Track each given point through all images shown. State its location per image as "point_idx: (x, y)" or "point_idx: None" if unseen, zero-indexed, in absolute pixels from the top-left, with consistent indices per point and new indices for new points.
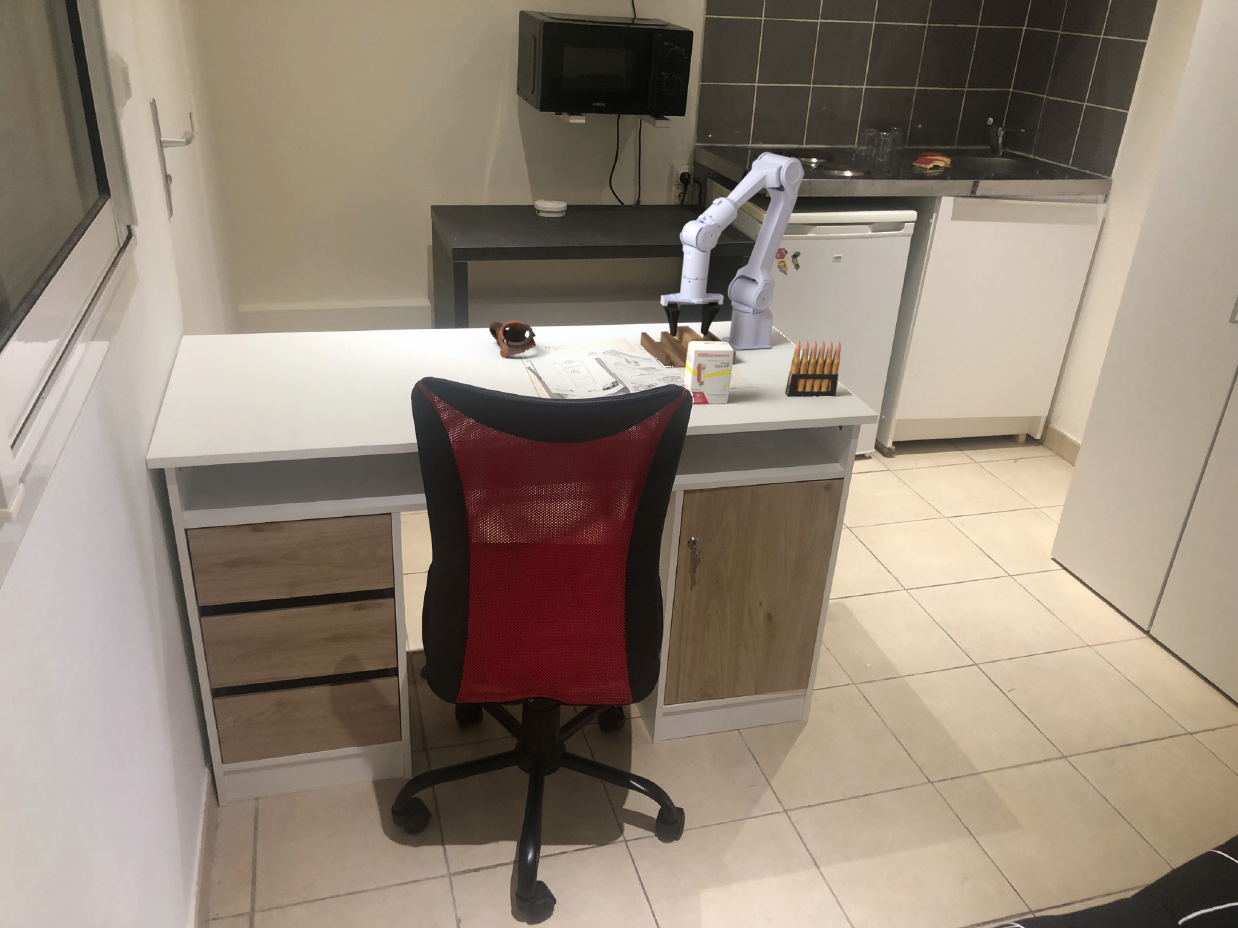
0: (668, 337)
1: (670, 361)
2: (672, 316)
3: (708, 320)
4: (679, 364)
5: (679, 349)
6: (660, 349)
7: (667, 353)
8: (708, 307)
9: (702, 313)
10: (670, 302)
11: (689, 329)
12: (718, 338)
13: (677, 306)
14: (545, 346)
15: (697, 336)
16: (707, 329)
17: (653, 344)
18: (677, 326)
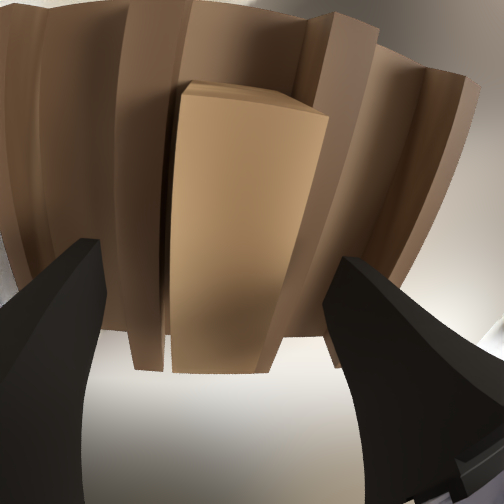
0: (288, 318)
1: (388, 110)
2: (499, 359)
3: (30, 327)
4: (374, 52)
5: (342, 150)
6: (451, 171)
7: (464, 101)
8: (14, 497)
9: (79, 435)
10: (489, 485)
11: (193, 327)
12: (10, 260)
13: (463, 475)
14: (496, 322)
15: (218, 161)
16: (63, 263)
17: (415, 252)
18: (246, 371)
